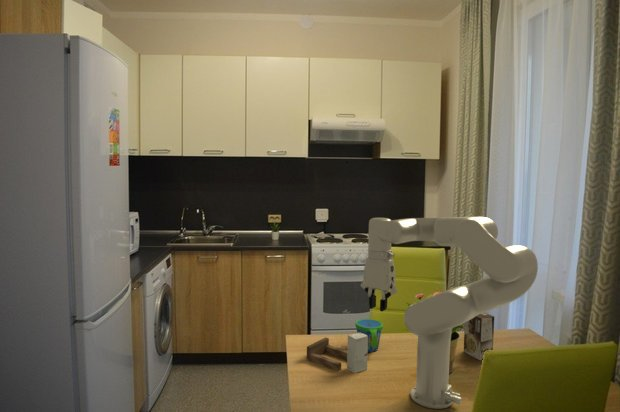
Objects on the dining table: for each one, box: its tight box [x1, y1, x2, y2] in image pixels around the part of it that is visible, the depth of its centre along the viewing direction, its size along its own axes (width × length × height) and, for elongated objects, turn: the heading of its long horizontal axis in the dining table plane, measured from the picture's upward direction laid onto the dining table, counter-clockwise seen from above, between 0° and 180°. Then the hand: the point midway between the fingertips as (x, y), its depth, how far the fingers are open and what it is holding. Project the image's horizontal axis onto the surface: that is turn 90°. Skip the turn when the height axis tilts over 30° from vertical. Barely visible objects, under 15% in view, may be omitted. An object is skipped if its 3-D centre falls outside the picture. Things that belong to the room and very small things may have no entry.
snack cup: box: [355, 318, 384, 353], centre depth 168 cm, size 16×10×10 cm
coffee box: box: [463, 312, 495, 361], centre depth 163 cm, size 9×6×16 cm
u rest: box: [306, 337, 348, 372], centre depth 157 cm, size 14×12×5 cm
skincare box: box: [346, 332, 369, 374], centre depth 150 cm, size 6×4×12 cm
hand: (377, 308), depth 144 cm, fingers open, 3 cm apart
